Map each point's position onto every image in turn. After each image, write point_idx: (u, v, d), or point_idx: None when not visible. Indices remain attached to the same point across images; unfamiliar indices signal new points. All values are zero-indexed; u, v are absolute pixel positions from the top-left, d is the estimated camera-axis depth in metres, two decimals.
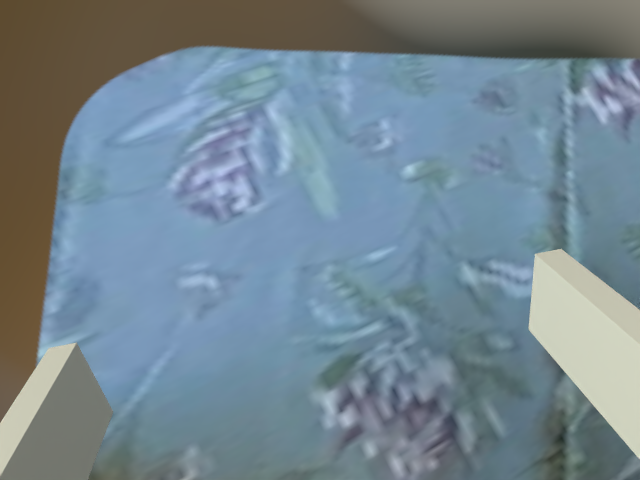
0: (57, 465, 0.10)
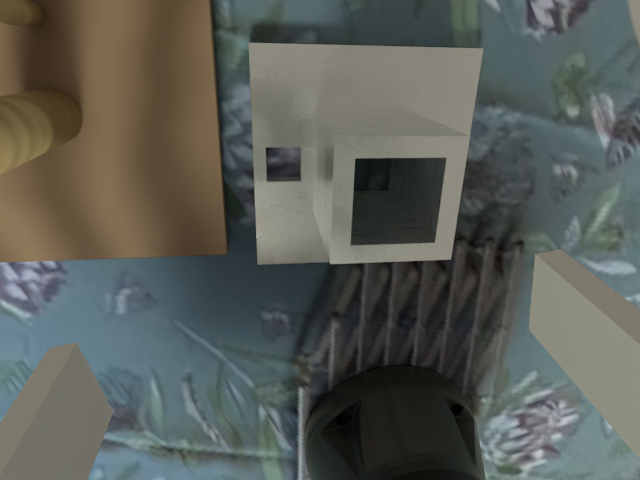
0: (57, 465, 0.10)
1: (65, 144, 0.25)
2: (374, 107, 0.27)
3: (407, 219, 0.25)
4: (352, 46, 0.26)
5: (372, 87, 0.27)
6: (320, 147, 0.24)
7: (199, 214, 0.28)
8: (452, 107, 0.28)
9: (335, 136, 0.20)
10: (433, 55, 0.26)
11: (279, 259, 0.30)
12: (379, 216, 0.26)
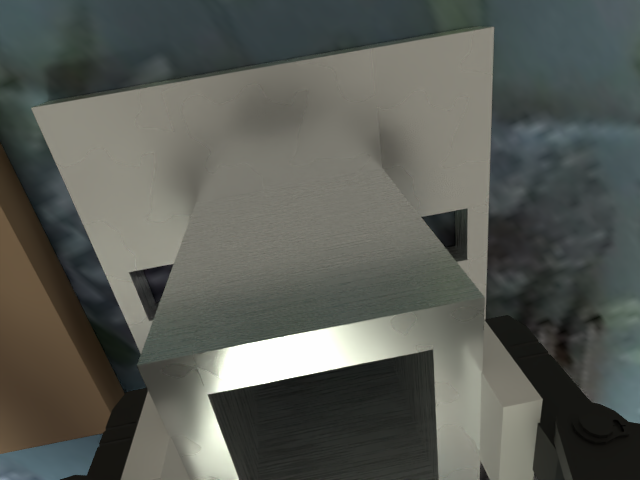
0: None
1: None
2: (303, 173, 0.15)
3: (386, 389, 0.13)
4: (232, 75, 0.13)
5: (290, 141, 0.14)
6: None
7: (54, 388, 0.17)
8: (449, 146, 0.15)
9: (140, 363, 0.08)
10: (395, 60, 0.13)
11: None
12: (337, 383, 0.14)
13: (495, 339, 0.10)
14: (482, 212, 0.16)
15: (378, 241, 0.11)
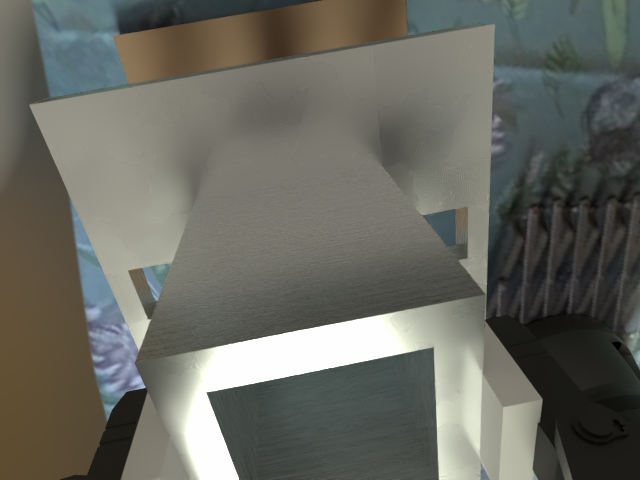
0: None
1: None
2: (302, 171, 0.15)
3: (386, 388, 0.13)
4: (232, 72, 0.13)
5: (289, 138, 0.14)
6: None
7: None
8: (449, 143, 0.15)
9: (139, 360, 0.08)
10: (396, 57, 0.13)
11: None
12: (336, 382, 0.14)
13: (495, 339, 0.10)
14: (483, 211, 0.16)
15: (378, 238, 0.10)
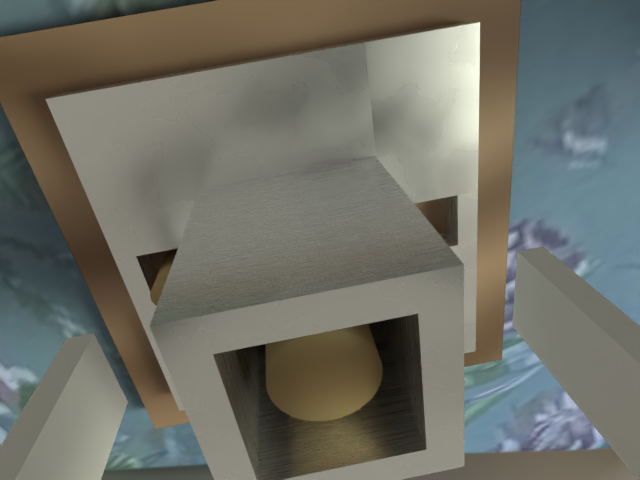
0: (77, 451, 0.10)
1: None
2: (301, 161, 0.16)
3: None
4: (234, 67, 0.14)
5: (288, 130, 0.15)
6: None
7: (440, 14, 0.15)
8: (439, 135, 0.16)
9: (153, 324, 0.09)
10: (387, 53, 0.14)
11: None
12: None
13: None
14: (472, 199, 0.17)
15: (370, 219, 0.11)
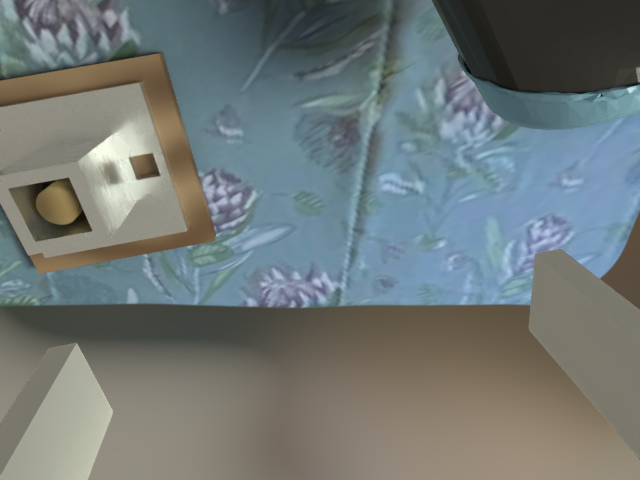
0: (57, 465, 0.10)
1: None
2: (78, 137, 0.38)
3: None
4: (42, 100, 0.36)
5: (70, 124, 0.38)
6: None
7: (131, 78, 0.38)
8: (136, 126, 0.38)
9: None
10: (104, 94, 0.37)
11: (59, 252, 0.43)
12: (86, 215, 0.37)
13: None
14: (160, 154, 0.40)
15: (73, 154, 0.34)
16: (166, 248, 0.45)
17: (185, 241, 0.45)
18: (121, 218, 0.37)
